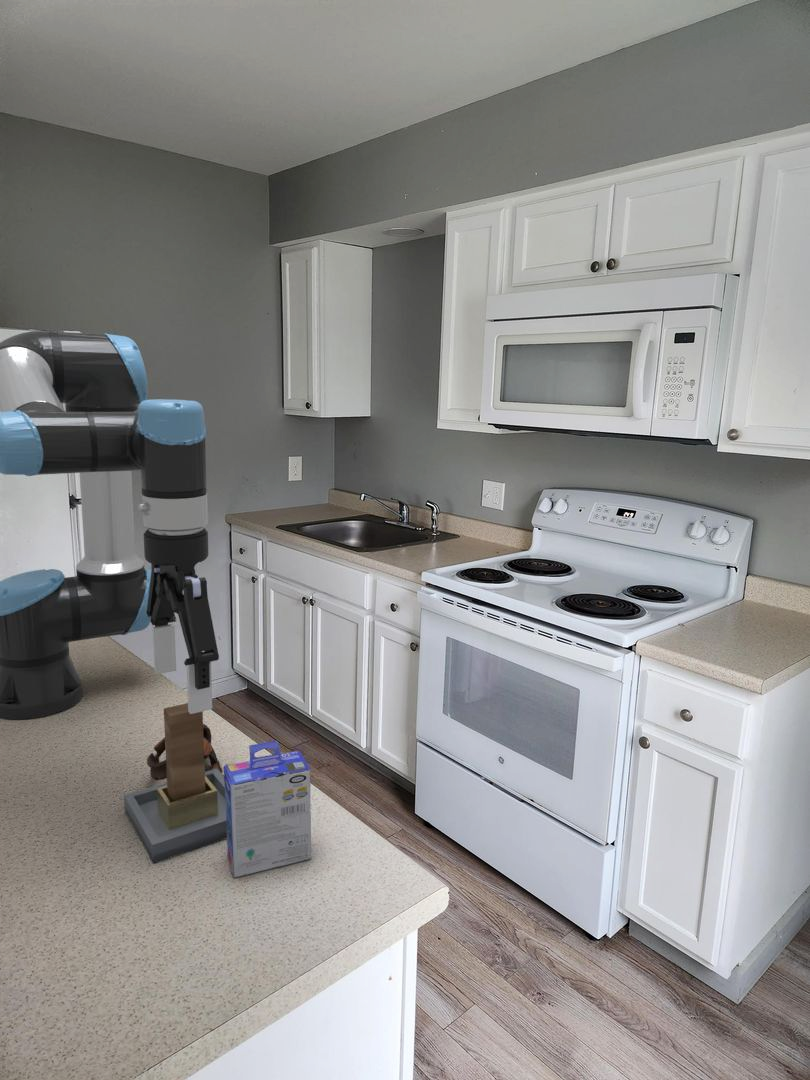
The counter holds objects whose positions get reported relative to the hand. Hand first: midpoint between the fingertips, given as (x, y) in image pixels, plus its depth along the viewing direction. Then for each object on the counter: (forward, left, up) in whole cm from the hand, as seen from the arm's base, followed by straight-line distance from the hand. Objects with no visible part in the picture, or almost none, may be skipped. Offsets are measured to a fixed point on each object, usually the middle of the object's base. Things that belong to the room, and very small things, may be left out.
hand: (182, 690), depth 94 cm
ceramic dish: (0, 0, -18) cm, 18 cm away
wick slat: (0, 0, -17) cm, 17 cm away
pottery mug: (-11, +4, -19) cm, 22 cm away
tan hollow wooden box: (0, 0, -17) cm, 17 cm away
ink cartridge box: (+13, +6, -19) cm, 24 cm away
